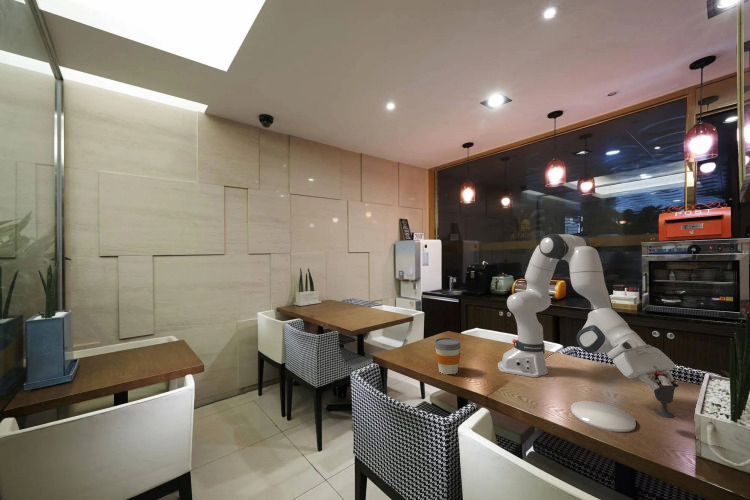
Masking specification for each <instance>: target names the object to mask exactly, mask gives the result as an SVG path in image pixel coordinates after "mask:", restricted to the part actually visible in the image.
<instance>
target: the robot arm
mask: <svg viewBox="0 0 750 500" xmlns="http://www.w3.org/2000/svg"><path fill="white" fill-rule="evenodd" d="M560 260H563V261H564V260H565V262H567V263H568V267H569V276H570V277H569V279H570V283H571V286H572V288H573V290H574V291H575V292H576V293H577V294H578V295H580V296H582V297H583V298H585V299H587V300H588V302H590V304H591V306H592V308H593V309H592V310H590V311H589V312H588V313H587V320H586V322H585V324H584V326H583V327H582V328H581V329H579V331H578V332H577V334H576V343H577V344H578V346H579V347H580V349H581V350H583V351H584V352H585V353H591V354H606V355H607V357H609V359H610V360H612V361H613V363H614V365H615V366H616V368H617V369H618V370H619V371H620V373H621V374H622V375H624V377H626V378H627V379H628V380H629V379H630V380H631V379H636V378H639V380H640V381H641V382H643V383H644V384H645V385H647V386H648V387H649V388H650V389H651V390H652V391H654V390H657V389H659V388H660V386H659V385H658V384H657V383H656V382H653V381H652V380H651V378H649V376H650V375H652V376H653V375H654V373H656V369H657V373H660V372H662V373H664V374H666V375H668V376H669V377H670V378H671V380H672V381H673V380H674V377H673V375H672V372H671V371H672V370H674V368H676V365H675V364H676V363H674V362H673V361H672V359H670V357H668V356H667V355H666V354H665V353H664V352H663V351H662V350H661V349H659V348H657V347H655V346H652V345H650V344H647V343H646V342H645V341H644V340H643V339H642V338H641V336H640V335H639V334H637V333H636V332H635V330H633V329H631V328H630V326H629V324H628V323H627V321H626V320H624V318H623V317H621V315H619V314H618V312H616V311H615V310H614V307H613V302H612V300H611V296H610V294H609V291H608V288H607V286H606V282H605V277H604V269H603V266H602V265H603V264H602V261H601V257H600V255H599V252H598V250H597V249H596V248H595V247H592V244H591V242H590V241H589V240H588V239H587V238H586V237H583V236H580V235H573V234H568V233H566V234H565V233H563V234H559V233H558V234H557V233H550V234H546V235H544V236H543V237H541V239H540V241H539V244H538V245H536V248H535V249H534V250H533V253H532V255H531V257H530V260H529V261H528V262H529V263H528V266H527V268H526V271H525V275H524V280H525V281H526V289H525V290H523V291H517V292H515V293H512V294H510V295H509V296H508V297H507V300H506V306H507V308H508V310H509V312H511V313H512V314H513V316H514V319H515V321H516V326H517V327H516V328H517V339H516V338H513V339H512V340H511V341H512V344H513V347H512V348H511V349H509V350H507V351H506V352H504V353H503V355H502V359H501V360H500V361H498V363H497V368H498V370H499V371H500V372H502V373H507V374H511V375H512V374H513V375H517V376H518V375H519V376H523V377H529V378H530V377H531V378H538V377H540V376H545V375H548V374H549V370H548V367H547V364H546V359H545V357H546V356H545V354H546V353H545V352H546V346H545V342H544V331H543V330H544V329H543V325H542V323H540V322H539V320H538V317H537V313H539V312H543V311H545V310H546V309H548V308H549V307H550V306H551V304H552V299H551V297H550V293H549V292H550V291H549V290H550V284H551V282H552V281H551V280H552V278H553V276H554V273H555V270H556V267H557V264H558V262H559V261H560ZM653 366H656V367H655V368H656V369H655V368H654V367H653ZM658 369H659V370H660V371H659V370H658ZM675 383H676V384H677V385H678V383H677V381H676V382H675Z"/></svg>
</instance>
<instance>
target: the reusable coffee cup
mask: <svg viewBox="0 0 750 500" xmlns="http://www.w3.org/2000/svg"><path fill="white" fill-rule="evenodd" d="M434 348H435V358H436V362H437V365H438V372H439V373H440V372H441V373H440V374H442V373H443V374H442V375H445V374H454V375H456V373H457V374H458V371H459V363H460V360H461V359H460V358H461V352H460V351H461V350H460V349H461V342H460V340H459V339H457V338H453V337H440V338H436V339H435V340H434Z"/></svg>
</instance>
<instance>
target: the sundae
mask: <svg viewBox="0 0 750 500" xmlns="http://www.w3.org/2000/svg"><path fill="white" fill-rule="evenodd" d="M653 367H654V368H655V367H656V366H653ZM655 369H656V368H655ZM658 370H659V369H658ZM659 371H660V370H659ZM650 379H651V380H652V381H653V382H656V383H657V384H658V385H659V386H660V388H659V389H657V390H653V392H654V397H655V399H656V400H657V401H658V402H660V403H661V408H660V409H654V410H653V412H654V414H656V415H657V416H659V417H662V418H667V419H675V418H676V415H675V414H674V413H672V412H669V411H668V406H667V405H668V404H671V403H672V402H673V400H674V397H675V396H674V395H675V390H676V388H678V387H679V385H678V383H677V384H676V383H675V382H677V378H675V379H674V378H673V379H674V380H673V381H672V380H671V378H670V377H669V376H668V375H666V374H664V373H662V372H660V373H657V369H656V373H654V374H653V375H652V376H651V377H650Z"/></svg>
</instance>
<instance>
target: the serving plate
mask: <svg viewBox="0 0 750 500" xmlns="http://www.w3.org/2000/svg"><path fill="white" fill-rule="evenodd" d="M570 412H571V414H572V416H573V417H575V418H576V419H577V420H579V421H580V422H582V423H583V422H584V424H585V423H586V425H588V426H590V427H593V428H597V429H598V430H603V431H607V432H614V433H627V432H632V431H634V430H635V429H636V425H637V422H636V419H635V417H633V416H632V415H631V414H630V413H628V412H627V411H625V410H623V409H621V408H618V407H616V406H613V405H611V404H607V403H602V402H598V401H591V400H581V401H576V402H573V403H572V404H571V406H570Z"/></svg>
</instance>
